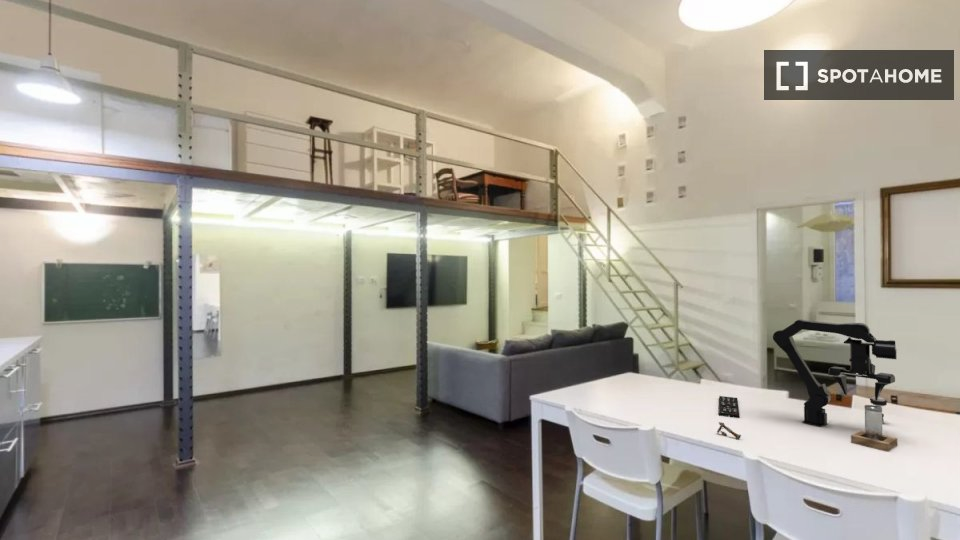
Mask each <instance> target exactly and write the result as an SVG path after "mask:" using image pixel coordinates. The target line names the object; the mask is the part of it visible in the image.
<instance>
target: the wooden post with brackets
mask: <svg viewBox="0 0 960 540" xmlns="http://www.w3.org/2000/svg"><path fill="white" fill-rule="evenodd" d="M718 424H719V428H718V429H717V431H716V432H717V434H719V433H721V435H723V436H726V437H727V436H728V434H727V432H728V433H730V434H731V435H732V436H734V437H735V440H738V439H740V438H741V437H742V434H738V433H737V432H735V431H733V430H732V429H730V427H728V426H726V425H725V422H721V421H719V422H718ZM723 429H725V431H727V432H725V431H722V430H723Z"/></svg>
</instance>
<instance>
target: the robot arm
mask: <svg viewBox="0 0 960 540" xmlns="http://www.w3.org/2000/svg"><path fill="white" fill-rule="evenodd" d="M802 330H806V331H813V332H820V333H821V332H823V333H831V334H839V335H842V336H844V337H847V339H846V340H844V341H843V344H847V345H848V344H849V351H850V352H849V353H850V354H849V355H850V356H849V360H848V361H849V362H850V369H849V370H847V369H846V367H840V366H832V367H829V368H828V376H832V378H834V379H835V381H836V382H837V383H838V385H839V386H840V388H841V391H843V394H844V396H847V395H848V385H847V377H848V376H851V377H852V376H853V377H857V378H864V379H865V378H866V379H871V380H876V382H874V383H875V384H874V397H875V400H878V398H879V397H881V396H880V395H881V393H882V391H883V389H884V387H885V386H888V385H890V384H893V383H895V382H896V376H895V375H894V374H893V373H887V372H878V373H877V374H876V373H875V372H876V365H875V364H873V363H872V358H871V355H873V356H875V358H876V359H886V360H887V359H888V360H897V353H898V352H897V351H898V350H897V347H896V340H891V339H890V340H885V339H884V340H883V339H877V338H876V337H875V336H874V335H873V334H872V333H871V329H870V328H869V326H868V325H867V324H865V323H863V322H850V323H849V322H847V323H832V322H825V321H815V320H806V319H802V318H801V319H800V318H799V319H796V320H795V321H794V322H793V323H792V324H790V325H789V326H787V327H786V328H784V329H778V330H776V331H775V332H774V333H773V334H772V339H773V341H774V343H776V345H777V346H778V347H779V348H780V349H781V350H782V351H783V352H784V353H785V355H786V356H787V357H788V359H789V360H790V362H791V363H792V366H793V367H794V368H795V370H796V372H797V374H798V375H799V376H800V379H801V380H802V382H803V383H804V385H805V388H806V391H807V394H808V397H809V398H808V399H806V401H805V402H804V403H803V405H804V406H803V417H804V420H802V423H804V424H808V425H812V426H813V425H814V426H817V427H823V426H825V425H828V414H827V412H826V408H824V407H825V406H827V405H828V404H829V403H830V401H831V397H832V396H831V391H830V390H829V389H828V388H827V385H826V383H823V384H821V383H820V382H819V381H818V380H817V379H816V378H815V376H814V375H813V372H812V371H811V369H810V368H809V366H808V364H807V363H806V361H805V360H804V359H803V356H802V355H801V354H800V352H799V351H798V349H797V347H796V346H797V345H796V343H795V340H794V337H793V336H795V335H797V334H798V333H799V332H801V331H802ZM863 341H864V342H863ZM870 346H871V347H870Z"/></svg>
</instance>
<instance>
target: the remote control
mask: <svg viewBox="0 0 960 540" xmlns="http://www.w3.org/2000/svg"><path fill="white" fill-rule="evenodd" d="M718 397H719V398H718V416H719V417H720V416H721V417H728V418H736V419H741V417H740V407H739V400H738V397H732V396H723V395H722V396H721V395H719V396H718Z"/></svg>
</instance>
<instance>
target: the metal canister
mask: <svg viewBox="0 0 960 540" xmlns="http://www.w3.org/2000/svg"><path fill="white" fill-rule="evenodd" d="M882 414H883V406H881V407H879V406H876V405H873V404H865V405H864V431H865V437H866V438H871V439H875V440H879V441H883V435H884V434H883V433H884V431H883V422H882Z"/></svg>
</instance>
